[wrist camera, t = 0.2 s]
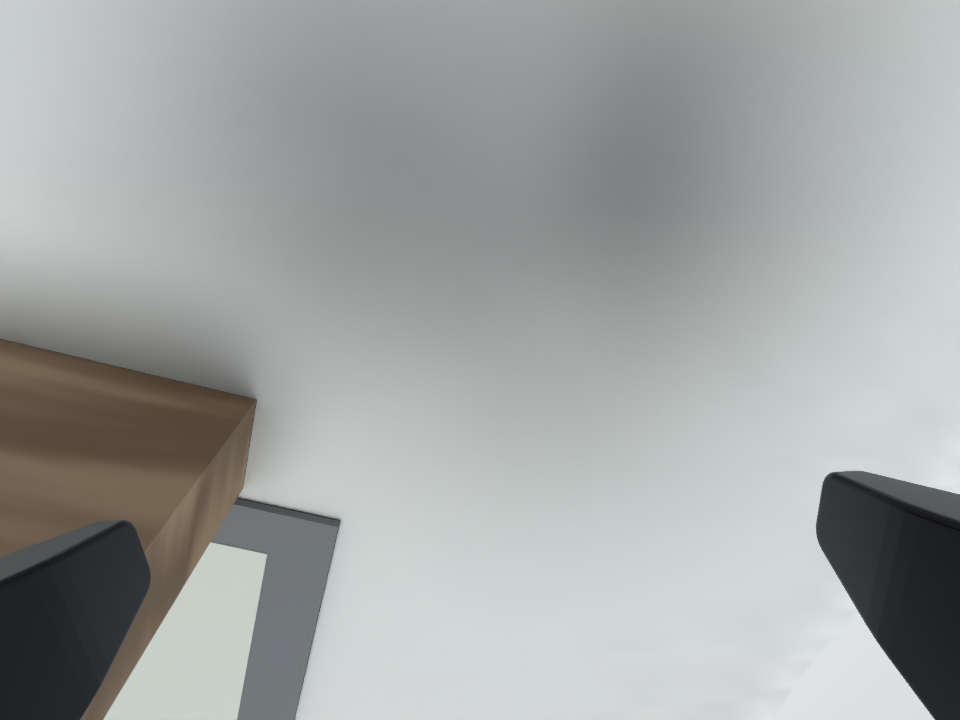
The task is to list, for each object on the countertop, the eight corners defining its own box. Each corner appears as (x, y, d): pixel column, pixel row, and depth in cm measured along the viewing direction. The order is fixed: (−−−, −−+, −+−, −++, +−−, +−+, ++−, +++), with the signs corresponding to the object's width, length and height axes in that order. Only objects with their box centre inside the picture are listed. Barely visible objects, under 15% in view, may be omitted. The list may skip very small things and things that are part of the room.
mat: (-140, 415, 23) (-151, 421, 23) (340, 521, 25) (337, 528, 25) (-102, 769, 31) (-110, 778, 30) (268, 830, 32) (265, 840, 32)
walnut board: (-28, 332, 22) (-535, 563, 11) (256, 399, 23) (54, 673, 12) (-25, 429, 24) (-471, 719, 12) (243, 488, 25) (51, 805, 14)
